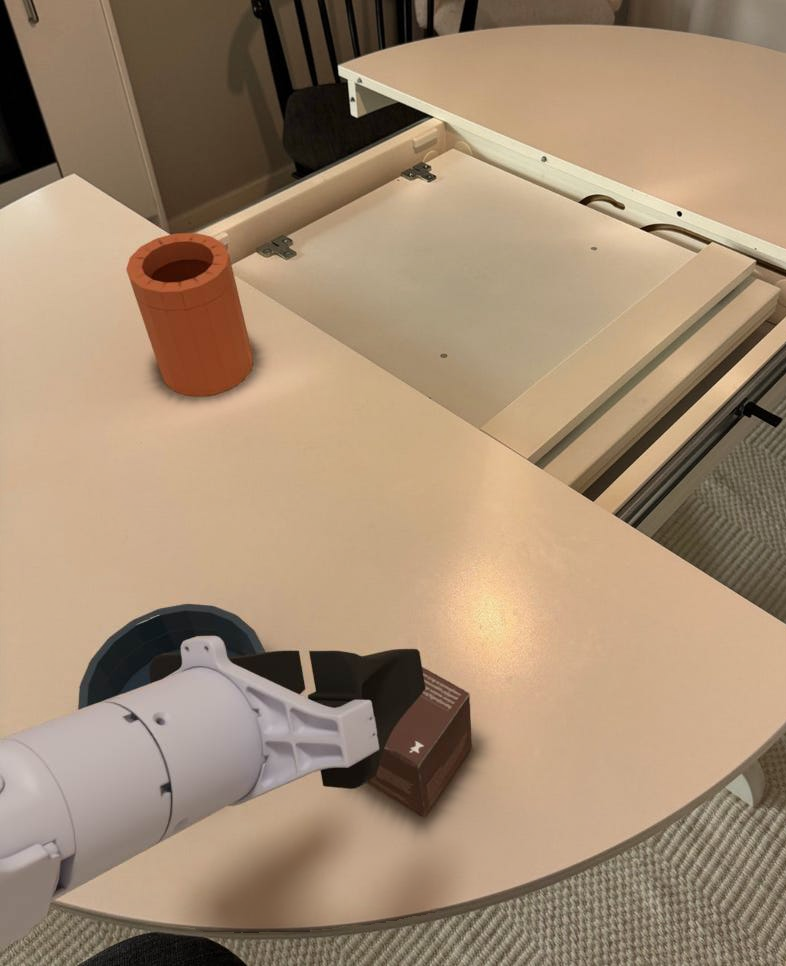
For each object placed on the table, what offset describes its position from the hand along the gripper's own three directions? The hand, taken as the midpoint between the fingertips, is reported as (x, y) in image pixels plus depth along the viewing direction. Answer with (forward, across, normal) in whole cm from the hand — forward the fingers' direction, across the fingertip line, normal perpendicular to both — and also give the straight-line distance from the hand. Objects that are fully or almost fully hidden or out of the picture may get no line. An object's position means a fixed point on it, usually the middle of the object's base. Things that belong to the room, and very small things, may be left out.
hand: (354, 669), depth 47 cm
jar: (+30, +39, -21) cm, 53 cm away
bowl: (+8, +24, +6) cm, 26 cm away
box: (+15, +10, +11) cm, 21 cm away
